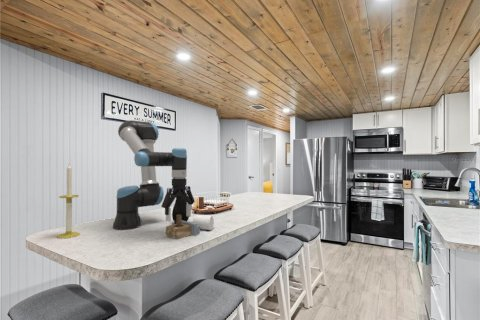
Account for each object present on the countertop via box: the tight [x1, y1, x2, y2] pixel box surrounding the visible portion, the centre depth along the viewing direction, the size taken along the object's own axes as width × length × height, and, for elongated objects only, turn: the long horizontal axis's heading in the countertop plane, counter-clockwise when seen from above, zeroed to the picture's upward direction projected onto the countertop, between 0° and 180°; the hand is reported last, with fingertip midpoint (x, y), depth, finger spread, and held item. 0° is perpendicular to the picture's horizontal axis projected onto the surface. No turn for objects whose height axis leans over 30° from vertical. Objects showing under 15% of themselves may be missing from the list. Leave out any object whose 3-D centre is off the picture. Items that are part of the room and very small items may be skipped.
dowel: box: [176, 215, 182, 227], centre depth 132 cm, size 3×3×10 cm
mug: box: [192, 214, 214, 231], centre depth 147 cm, size 12×10×8 cm
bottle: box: [171, 196, 190, 224], centre depth 158 cm, size 11×11×30 cm
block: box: [165, 223, 192, 240], centre depth 132 cm, size 9×9×5 cm
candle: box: [57, 162, 81, 239], centre depth 131 cm, size 10×10×38 cm
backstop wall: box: [182, 220, 201, 237], centre depth 138 cm, size 14×5×6 cm, turn 55°
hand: (178, 218), depth 132 cm, fingers open, 13 cm apart
